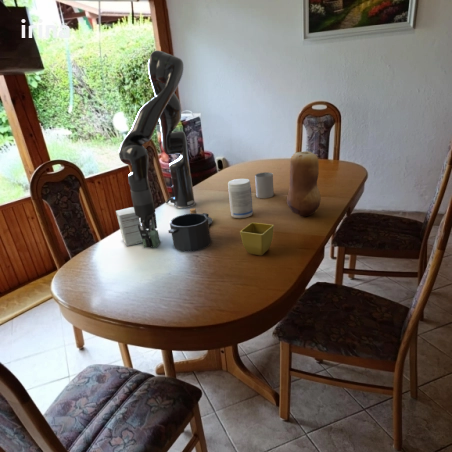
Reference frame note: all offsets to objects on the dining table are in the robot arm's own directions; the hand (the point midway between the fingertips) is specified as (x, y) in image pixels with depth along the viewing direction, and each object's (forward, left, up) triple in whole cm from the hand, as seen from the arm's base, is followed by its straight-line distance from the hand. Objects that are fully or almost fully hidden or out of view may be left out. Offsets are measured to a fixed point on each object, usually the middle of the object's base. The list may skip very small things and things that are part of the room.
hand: (152, 243), depth 155 cm
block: (0, 0, 0) cm, 0 cm away
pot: (+14, +8, 0) cm, 16 cm away
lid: (+1, +24, 0) cm, 24 cm away
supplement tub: (+13, +41, -1) cm, 43 cm away
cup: (+7, +68, -1) cm, 68 cm away
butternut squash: (+37, +52, -1) cm, 64 cm away
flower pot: (+41, +13, -1) cm, 43 cm away
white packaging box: (-10, -1, -1) cm, 10 cm away
